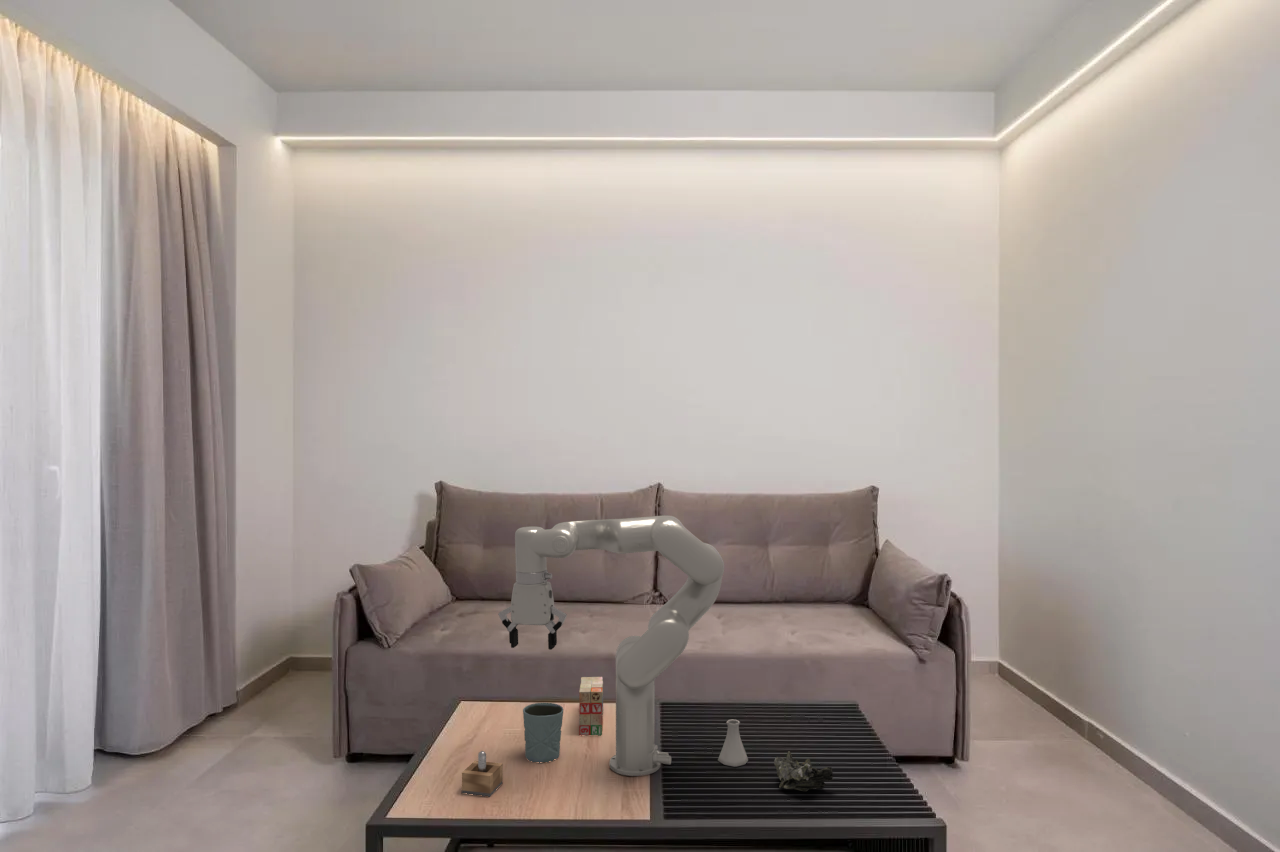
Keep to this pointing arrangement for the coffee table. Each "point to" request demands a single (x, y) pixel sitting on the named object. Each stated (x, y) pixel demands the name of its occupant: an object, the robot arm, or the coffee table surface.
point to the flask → (733, 746)
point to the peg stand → (481, 769)
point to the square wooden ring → (482, 777)
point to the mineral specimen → (801, 774)
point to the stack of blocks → (591, 706)
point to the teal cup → (542, 731)
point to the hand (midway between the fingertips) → (533, 647)
